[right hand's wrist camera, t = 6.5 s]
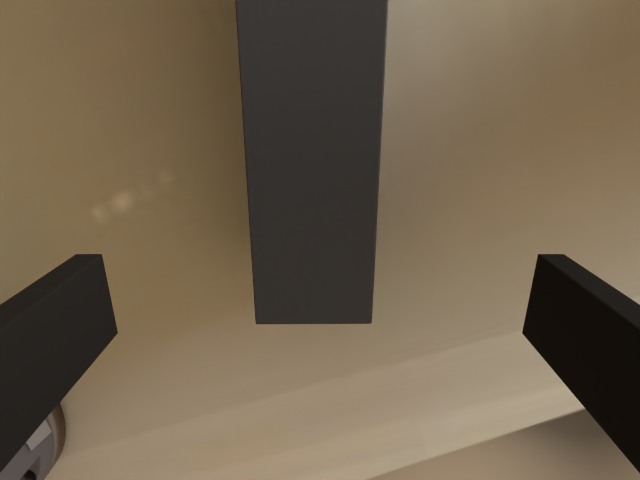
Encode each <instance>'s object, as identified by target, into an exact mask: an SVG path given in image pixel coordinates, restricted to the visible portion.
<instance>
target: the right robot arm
mask: <svg viewBox="0 0 640 480" xmlns="http://www.w3.org/2000/svg"><path fill="white" fill-rule="evenodd" d="M117 333H118V332H117V327H116V322H115V317H114V312H113V307H112V302H111V297H110V292H109V288H108V283H107V278H106V273H105V268H104V263H103V258H102V254H76V255H74V256H73V257H71V258H70V259H68V260H67V261H65V262H64V263H62V264H61V265H59V266H58V267H56V268H55V269H53V270H52V271H50V272H49V273H47V274H46V275H44V276H43V277H41V278H40V279H38V280H37V281H35V282H34V283H32V284H31V285H29V286H28V287H26V288H25V289H23V290H22V291H20V292H19V293H17V294H16V295H14V296H13V297H11V298H10V299H8V300H7V301H5V302H4V303H2V304H1V305H0V480H44V478H45V477H46V476H47V474H48V473H49V471H50V470H51V469H52V467H53V466H54V464H55V463H56V461H57V460H58V458H59V456H60V454H61V452H62V449H63V446H64V442H65V421H64V417H63V413H62V410H61V407H60V405H59V402H60V401H61V400H62V399H63V398H64V396H65V395H66V394H67V393H68V392H69V390H70V389H71V388H72V387H73V386H74V384H75V383H76V382H77V381H78V380H79V379H80V377H81V376H82V375H83V374H84V373H85V371H86V370H87V369H88V368H89V367H90V365H91V364H92V363H93V362H94V361H95V359H96V358H97V357H98V356H99V355H100V353H101V352H102V351H103V350H104V349H105V348H106V346H107V345H108V344H109V343H110V342H111V340H112V339H113V338H114V337H115V336H116V334H117ZM522 333H523V334H524V336H525V337H526V338H527V339H528V340H529V342H530V343H531V344H532V345H533V346H534V348H535V349H536V350H537V351H538V352H539V354H540V355H541V356H542V357H543V358H544V359H545V361H546V362H547V363H548V364H549V365H550V367H551V368H552V369H553V370H554V371H555V373H556V374H557V375H558V376H559V377H560V379H561V380H562V381H563V382H564V383H565V384H566V386H567V387H568V388H569V389H570V390H571V392H572V393H573V394H574V395H575V396H576V398H577V399H578V400H579V401H580V402H581V404H582V405H583V406H584V407H585V408H586V410H587V411H588V412H589V413H590V414H591V415H592V417H593V418H594V419H595V420H596V421H597V423H598V424H599V425H600V426H601V427H602V429H603V430H604V431H605V432H606V433H607V435H608V436H609V437H610V438H611V439H612V441H613V442H614V443H615V444H616V445H617V446H618V448H619V449H620V450H621V451H622V452H623V454H624V455H625V456H626V457H627V458H628V460H629V461H630V462H631V463H632V464H633V466H634V467H635V468H636V469H637V470H638V471H639V473H640V305H639V304H638V303H636V302H635V301H633V300H632V299H630V298H629V297H627V296H626V295H624V294H623V293H621V292H620V291H618V290H617V289H615V288H614V287H612V286H611V285H609V284H608V283H606V282H605V281H603V280H602V279H600V278H599V277H597V276H596V275H594V274H593V273H591V272H590V271H588V270H587V269H585V268H584V267H582V266H581V265H579V264H578V263H576V262H575V261H573V260H572V259H570V258H569V257H567V256H566V255H564V254H538V258H537V263H536V268H535V273H534V278H533V283H532V288H531V292H530V297H529V302H528V307H527V312H526V317H525V322H524V327H523V332H522Z"/></svg>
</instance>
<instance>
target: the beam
mask: <svg viewBox="0 0 640 480" xmlns="http://www.w3.org/2000/svg"><path fill="white" fill-rule="evenodd" d="M235 2H236V17H237V33H238V49H239V65H240V81H241V97H242V112H243V128H244V144H245V160H246V176H247V192H248V207H249V223H250V239H251V255H252V271H253V287H254V302H255V318H256V324H370V323H372V307H373V288H374V268H375V249H376V229H377V210H378V190H379V171H380V152H381V132H382V113H383V93H384V74H385V54H386V35H387V15H388V0H235Z"/></svg>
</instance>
